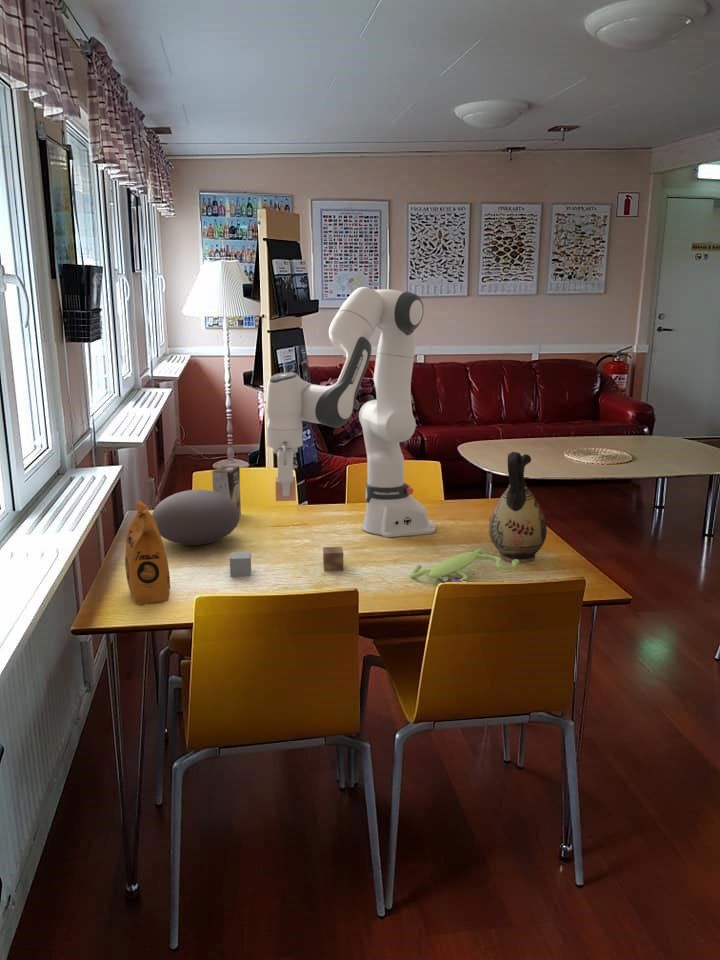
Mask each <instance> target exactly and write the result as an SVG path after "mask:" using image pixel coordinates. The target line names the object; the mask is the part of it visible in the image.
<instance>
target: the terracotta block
mask: <svg viewBox="0 0 720 960" xmlns="http://www.w3.org/2000/svg"><path fill="white" fill-rule="evenodd" d="M296 483H297V482H296V476H293V482H292V483H290V495H289V496H283V495H282V484H281V483H279V482H278V476H276V477H275V501H276V502H294V501H295V502H296V501H297V499H296V498H297V494H296V493H297V492H296V491H297V490H296V489H297V485H296Z"/></svg>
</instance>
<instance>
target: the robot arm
mask: <svg viewBox="0 0 720 960" xmlns="http://www.w3.org/2000/svg"><path fill="white" fill-rule="evenodd" d="M423 317H424V304H423V301H422V300H421V297H420V296H419V295H418V294H415V293H414V292H410V291H401V290H397V289H392V288H391V289H389V288H385V289H384V288H383V289H379V288H378V289H375V288H372V287H367V286H362V287H357V288H356V289H355V290H354V291H353V292H351V294H349V296H348V297H347V298H346V300H345V301H344V302H343V303H342V305H341V306H340V307H339V309H338V311H337V312H336V314H335V315H334V317H333V319H332V320H331V323H330V325H329V328H328V338H329V341H330V343H331V345H332V347H333V348H334V349H335V351H337V353H339V354H340V355H342V356H343V357H344V358H345V361H344V364H343V367H342V368H341V371H340V375H339V376H338V379H337V381H336V382H335V383H333V384H331V385H321V384H314V383H310V382H308V381H305V380H303V378H301V377H300V376H299V374H298V373H296V372H292V371H291V372H286V371H285V372H280V373H276V374H273V375H272V376H271V377H270V378H269V380H268V382H267V386H266V394H265V395H266V396H265V397H266V398H265V400H266V401H265V402H266V403H265V404H266V405H265V406H266V407H265V408H266V413H267V424H266V444H267V445H266V446H267V447H269V448H271V449H272V453H273V454H275V455H276V457H277V477H278V482H279V483H281V484H282V495H283V496H289V495H290V483H292V482H293V477H294V463H293V462H294V456H295V455H294V454H297V453H298V452H299V450H298V448H300V447H302V446H303V441H304V440H303V422H308V423H313V424H319V425H320V424H321V425H324V426H327V427H331V428H336V429H337V428H341V427H342V426H344V425H345V424H346V423H348V421H349V420H350V419H351V417H352V415H353V412H354V409H355V404H356V403H355V402H356V399H357V396H358V393H359V390H360V387H361V385H362V381H363V379H364V377H365V374H366V373H367V372H366V371H367V369H368V366H369V363H370V360H371V356H372V345H371V342H370V341H371V338H372V336H373V334H374V333H375V330H376V329H377V330H380V331H381V332H380V335H379V340H378V344H377V348H376V355H375V363H374V371H373V383H374V386H375V387H374V389H375V395H376V396H375V397H376V399H371V400H368V401H366V402H365V403H364V404H363V405H362V406H361V407H360V409H359V411H358V412H359V413H358V419H359V420H358V421H359V423H360V425H361V428H362V433H363V440H364V445H365V451H366V458H367V459H366V460H367V469H366V470H367V471H366V472H367V474H366V475H367V482H366V483H365V493H364V494H365V496H364V497H365V502H366V505H365V512H364V517H363V522H362V525H361V529H362V530H363V531H364V532H367V533H370V534H375V535H379V536H383V537H385V538H393V537H394V538H395V537H404V536H417V535H418V536H419V535H427V534H429V535H430V534H434V533H435V532H436V525H435V522H434V521H433V520H431V519H429V516H428V511H427V509H426V507H425V505H424V504H422V503H421V502H419V501H418V500H417V499H416V498H414V497H413V496H412V495H413V493H414V488H413V487H412V486H410V485H409V484H408V483H407V482H406V483H405V479H404V478H405V458H404V455H403V453H402V449H401V445H400V443H403V442H406V441H408V440H409V439H411V438H412V436H413V435H414V434H415V431H416V426H417V425H416V424H417V423H416V419H415V417H414V414H413V407H412V406H413V405H412V393H411V392H412V391H411V390H412V389H411V387H412V385H411V383H412V375H413V370H414V369H413V367H414V361H415V352H416V329H417V328H418V327H419V325H420V324H421V323H422V319H423Z"/></svg>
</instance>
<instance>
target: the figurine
mask: <svg viewBox="0 0 720 960" xmlns="http://www.w3.org/2000/svg"><path fill="white" fill-rule="evenodd" d="M477 559H482V560H483V559H484V560H492V561H495V567H496V569H497V570H502V571H504V570H505V571H506V570H514V569H515V568H517V567H518V566H517V564H519V563H520V562H519V560H518V559H515V560H513V561H512V562H511V565H501V560H502V558H501V557H498V556H495V555H492V554H484V549H481V548H477V549H475V550H474V551H465V552H463V553H458V554H456V555H453V556H451V557H448V558H447V559H444V560H443V561H441V562H439V563H438V564H436V565H435V566H434V567H432V568H429V569H422V568H423V566H422V565H421V564H418V565H417V566H416V567H415V568H414V569H413V570H412V572H411V573H410V574H409V575H410V577H411V578H412V579H416V578H419V577H422V576H423V575H426V574H428V576H429V578H432V579H436V580H440V578H441V581H443V582H444V583H447V581H449V578H450V575H452V574H456V575H458V576H460V577H461V578H460V579H459V577H458V576H454V577H453V578H452V580H451V582H462V581H467V582H468V579H469V576H468V575H467V574H466V573H465V572H462V571H461V570H463V569H465V568H466V567H468V566H469V565H471V564H472V563H474V561H476V560H477ZM421 569H422V570H421Z"/></svg>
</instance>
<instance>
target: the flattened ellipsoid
mask: <svg viewBox="0 0 720 960" xmlns="http://www.w3.org/2000/svg"><path fill="white" fill-rule="evenodd" d="M151 515H152V516H153V518H154V519H155V521H156V523H157V527H158V530H159V533H160V535H161V538H164V539H165V540H167V541H169V542H172V543H176V544H179V545H186V546H198V545H207V544H211V543H215V542H216V541H220V540H223V539H224V538H226V537H227V536H228V535H230V534H231V533H233V531H235V529H236V528H237V526H238V524H239V523H240V520H241V519H240V518H241V514H240V512H239V509H238V507H237V505H236V504H235V503H234V502H233V501H232V500H231V499H230V498H228V497H227V496H225V495H223V494H220V493H217V492H214V491H213V490H208V489H188V490H184V491H180V492H177V493H174V494H172V495H169V496H167V497H166V498H164V499H163V500H161V501H160V502H159V503H158V504H156V506H155V508H154V509H153V511H152V513H151Z"/></svg>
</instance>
